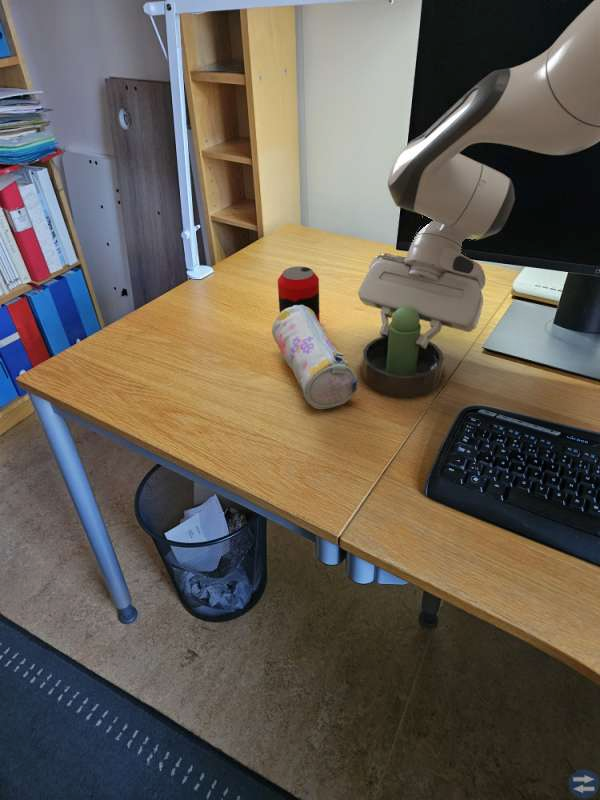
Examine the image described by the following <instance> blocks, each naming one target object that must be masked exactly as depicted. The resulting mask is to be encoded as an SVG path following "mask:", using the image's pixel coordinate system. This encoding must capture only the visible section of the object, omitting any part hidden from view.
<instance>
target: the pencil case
mask: <svg viewBox="0 0 600 800" xmlns="http://www.w3.org/2000/svg"><path fill="white" fill-rule="evenodd" d="M271 333H272V338H273V340H274V342H275V343H276V344H277V347H278V349H279V350H280V353H281V354H282V357H283V358H284V360H285V362H286V363H287V365H288V366H289V368H290V369H291V371H292V373H293V374H294V377H295V379H296V380H297V383H298V385H299V386H300V388H301V390H302V393H303V397H304V399H305V400H306V402H307V403H308V404H309V405H310V406H311V407H313V408H314V409H316V410H326V409H332V408H335V407H339V406H343V405H344V404H346V403H347V402H348V401H350V399H352V397H353V396H354V395H355V392H357V391H358V378H357V375H356V372H355V370H354V369H353V367H352V366H351V364H350V363H349V362H348V361H347V360H346V359H345V354H344V353H342V352H338V350H337V349H336V347H335V345H334V344H333V343H332V341H331V339H329V337H328V335H327V334H326V331H325V329H324V328H323V326H322V324H321V322H320V323H319V322H318V320H317V318H316V315H315V313H314V312H313V311H312V310H311V309H310V308H308V307H306V306H304V305H300V306H299V305H294V306H293V307H289V308H286V309H285V310H283V311H282V312H281V313H280V312H279V314H278V315H277V316H276V318H275V320H274V322H273V324H272V329H271Z"/></svg>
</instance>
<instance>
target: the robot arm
mask: <svg viewBox="0 0 600 800" xmlns="http://www.w3.org/2000/svg"><path fill="white" fill-rule="evenodd" d="M599 142H600V0H593V1H592V2H590V3H589V5H588V6H586V7H585V9H583V10H582V11H581V12H580V14H579V15H577V16H576V17H575V19H574V20H573V21H572V22H571V23H570V24H569V25H568V26H567V27H566V28H565V30H564V31H563V32H562V33H561V34H560V35H559V36H558V38H557V39H556V40H555V41H554V43H553V44H552V45H551V46H550V47H549V48H548V49H546V50H545V51H544V52H542V53H541V54H539V55H538V56H536V57H534V58H532V59H530V60H529V61H526V62H524V63H522V64H520V65H519V64H518V65H515V66H513V67H509V68H503V69H502V68H501V69H496V70H494V71H492V72H490V73H489V74H488V75H486V76H485V77H483V78H482V79H481V80H480V81H479V82H477V84H475V85H474V86H472V88H471V89H469V90H468V91H467V92H466V93H465V94H463V96H462V97H461V98H460V99H458V100H457V102H455V103H454V104H453V105H452V106H451V107H450V108H449V109H448V110H447V111H446V112H445V113H444V114H443V115H442V116H441V117H439V118H438V119H437V120H436V121H435V122H434V123H433V124H432V125H431V126H430V127H429V128H427V130H426V131H425V132H423V133H422V134H421V135H419V136H417V137H416V138H414V139H412V140H411V141H410V142H408V143H407V144H406V145H405V147H404V148H403V149H402V150H401V151H400V152H399V153H398V155H397V156H396V159H395V160H394V162H393V164H392V166H391V169H390V172H389V176H388V180H387V187H388V191H389V193H390V196H391V198H392V200H393V202H394V204H395V206H396V207H398V208H401V209H403V210H407V211H409V212H412V213H417V214H419V215H422V216H423V215H424V216H426V217H428V218H430V219H432V220H433V221H431V222H430V223H429V224H427V225H426V226H425V227H423V228H422V229H421V230H420V231H419V232H418V233H417V232H416V233H417V234H416V233H415V234H416V236H415V235H414V236H415V237H414V236H413V238H414V240H413V239H412V241H413V242H411V244H410V246H409V249H408V251H407V254H406V256H401V255H393V254H390V253H388V252H387V253H386V252H384V253H382V254H379V255H376V256H374V257H373V258H372V259H371V262H370V264H369V268H368V271H367V273H366V275H365V276H364V278H363V280H362V282H361V284H360V286H359V289H358V292H357V295H358V299H359V300H360V302H362V303H363V305H365V306H366V307H367V306H368V307H372V308H375V309H379V310H380V318H381V324H382V325H381V328H380V330H379V336H380V337H382V336H383V337H386V338H389V325H390V322H389V321H390V319H392V316H393V314H394V312H395V311H396V310H397V309H399V308H401V307H405V306H407V307H411V308H413V309H415V310H416V311H417V313H418V315H419V318H420V321H425V322H429V325H430V327H431V328H430V329H428V330H427V331H426V332H425V333H424V334H421V333H420V334H419V335H418V337H417V338H418V339H417V340H416V343H415V344H416V345H417V346H418V347H421V348H424V349H426V347H427V345H428V342H429V341H431V340H432V339H434V337H436V336H437V335H438V334H439V333H440V332H441V331H442V328H443V327H447V328H451V329H454V330H459V331H462V332H467V333H470V332H472V331H474V330H475V329H476V328H477V326H478V324H479V321H480V317H481V314H482V309H483V306H484V305H483V304H484V296H483V291H482V290H483V289H484V287H485V286H486V283H487V281H486V280H487V279H486V274H485V271H484V269H483V267H482V266H481V265H480V263H478V262H476V261H475V260H474V259H471V258H470V257H468V256H466V255H465V256H464V255H463V254H461V252H462V251H461V249H462V248H461V247H462V242H463V241H464V240H465V239H471V240H474V239H476V240H475V241H478V240H481V239H485V238H487V237H490V236H493V235H496V234H498V233H499V232H500V231H501V230H502V229H503V228H504V226H505V224H506V222H507V221H508V218H509V217H510V214H511V212H512V209H513V208H514V207H513V206H514V204H515V200H516V196H515V188H514V187H515V186H514V184H513V181H512V179H511V178H510V177H508V176H507V175H505V174H504V173H502V172H501V171H498V170H496V169H494V168H492V167H490V166H488V165H486V164H483V163H482V162H481V163H480V162H479V161H476V160H474V159H472V158H470V157H468V156H466V155H463V154H462V153H461V152H462V151H463V150H465V149H466V148H467V147H469V146H472V145H475V144H479V143H491V144H498V145H505V146H511V147H515V148H519V149H522V150H527V151H530V152H534V153H539V154H542V155H543V154H544V155H548V156H549V155H550V156H565V155H571V154H575V153H578V152H581V151H583V150H586V149H588V148H590V147H592V146H594V145H596V144H598V143H599Z"/></svg>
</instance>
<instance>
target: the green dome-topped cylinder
mask: <svg viewBox="0 0 600 800" xmlns="http://www.w3.org/2000/svg"><path fill="white" fill-rule="evenodd" d="M420 322H421V320H420V318H419V315H418V313H417V311H416V310H415V309H413V308H411V307H407V306H405V307H401V308H399V309H397V310H396V311H395V312H394V313H393V316H392V318H391V321H390V322H389V338H388V352H387V367H386V373H389V374H394V375H401V376H412V375H415V374H416V367H417V358H418V349H419V347H418V346H417V345H416V344H415V343H416V340H417V339H418V338H417V337H418V335H419V334H421V330H422V326H421V324H420Z"/></svg>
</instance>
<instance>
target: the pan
mask: <svg viewBox="0 0 600 800" xmlns="http://www.w3.org/2000/svg"><path fill="white" fill-rule="evenodd" d="M387 352H388V338H386V337H383V336H380V337H376V338H374V339H373V340H371V341H370V342H368V343H367V344H366V345H365V347H364V348H363V350H362V362H361V363H362V365H361V367H362V368H361V369H362V370H361V371H362V372H361V375H362V379H363V381H364V382H365V383H366V385H367V386H368V387H369V388H371V389H372V390H373V391H375V392H377V393H379V394H382V395H384V396H389V397H394V398H407V399H408V398H415V397H420V396H421V397H422V396H424V395H427V394H429V393H431V392H432V391H434V390H435V389H436V388H437V387H438V386H439V384H440V382H441V377H442V373H443V367H444V359H445V358H444V355H443V351H442V350H441V349H440V347H439V346H438V345H436V344H435V343H434V342H432V341H431V340H429V342H428V345H427V347H426V349H424V348H421V347H419V349H418V358H417V367H416V374H415V375H412V376H401V375H394V374H389V373H386V367H387Z"/></svg>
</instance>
